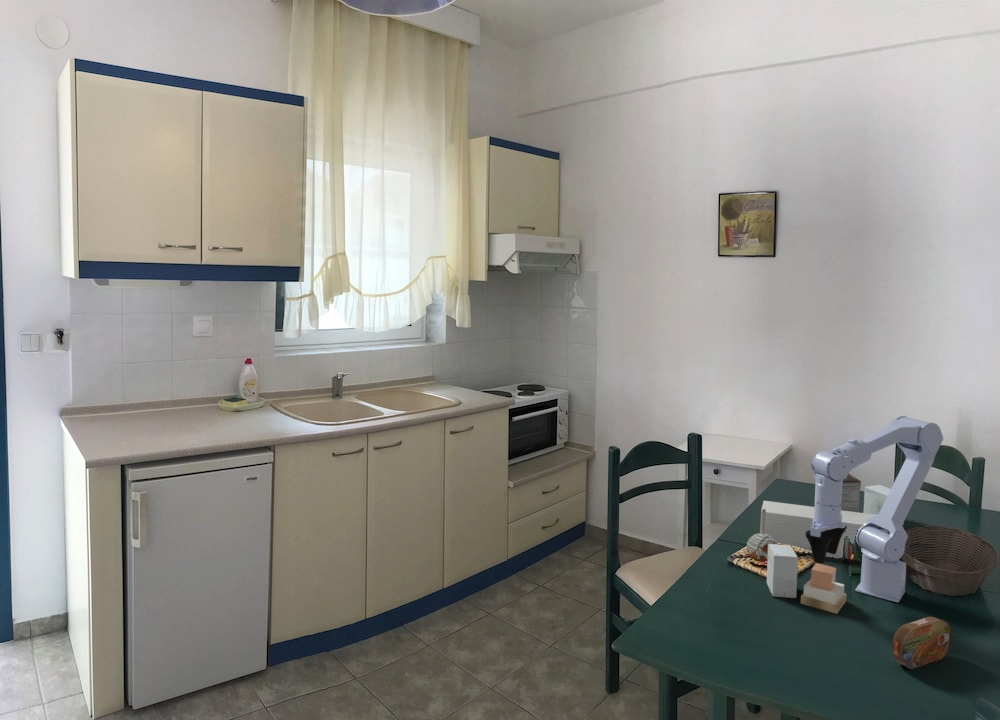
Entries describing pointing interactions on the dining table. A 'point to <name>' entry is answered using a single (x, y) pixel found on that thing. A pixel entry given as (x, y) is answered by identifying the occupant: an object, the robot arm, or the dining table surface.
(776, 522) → the long white box
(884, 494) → the skincare box
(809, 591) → the off-white slab
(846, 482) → the coffee box
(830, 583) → the terracotta block
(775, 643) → the dining table surface
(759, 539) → the decorative ornament
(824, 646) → the dining table surface
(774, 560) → the small box
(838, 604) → the oak slab
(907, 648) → the tin
